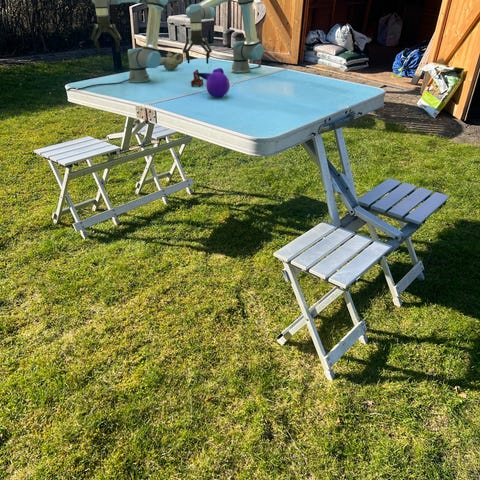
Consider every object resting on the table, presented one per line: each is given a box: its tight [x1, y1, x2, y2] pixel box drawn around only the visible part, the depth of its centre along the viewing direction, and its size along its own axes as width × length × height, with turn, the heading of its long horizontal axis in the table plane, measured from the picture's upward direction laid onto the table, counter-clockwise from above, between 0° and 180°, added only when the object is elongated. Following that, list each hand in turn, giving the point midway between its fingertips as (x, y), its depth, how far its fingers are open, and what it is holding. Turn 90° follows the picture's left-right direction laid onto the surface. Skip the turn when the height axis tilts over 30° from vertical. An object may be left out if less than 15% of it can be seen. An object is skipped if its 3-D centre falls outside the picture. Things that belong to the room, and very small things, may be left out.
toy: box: [195, 67, 230, 99], centre depth 289 cm, size 16×18×27 cm
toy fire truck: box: [190, 69, 204, 87], centre depth 319 cm, size 7×12×10 cm, turn 171°
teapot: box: [160, 50, 184, 71], centre depth 373 cm, size 21×12×15 cm, turn 120°
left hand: (108, 51), depth 295 cm, fingers open, 13 cm apart
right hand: (198, 63), depth 314 cm, fingers open, 13 cm apart
